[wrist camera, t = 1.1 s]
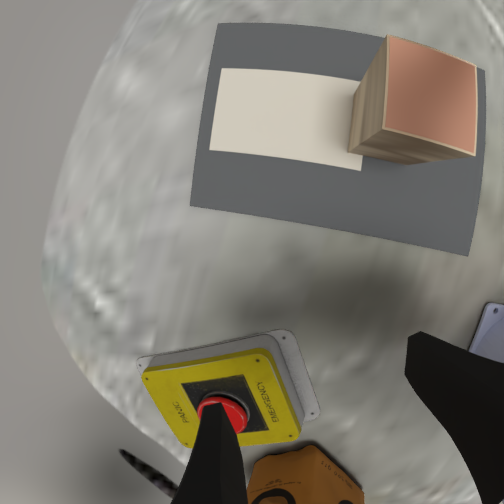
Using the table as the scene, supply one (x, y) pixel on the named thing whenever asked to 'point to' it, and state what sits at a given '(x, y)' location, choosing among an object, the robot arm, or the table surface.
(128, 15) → the table surface
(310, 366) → the table surface
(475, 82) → the wooden block
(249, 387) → the emergency button
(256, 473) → the coffee package
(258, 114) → the rubber mat
